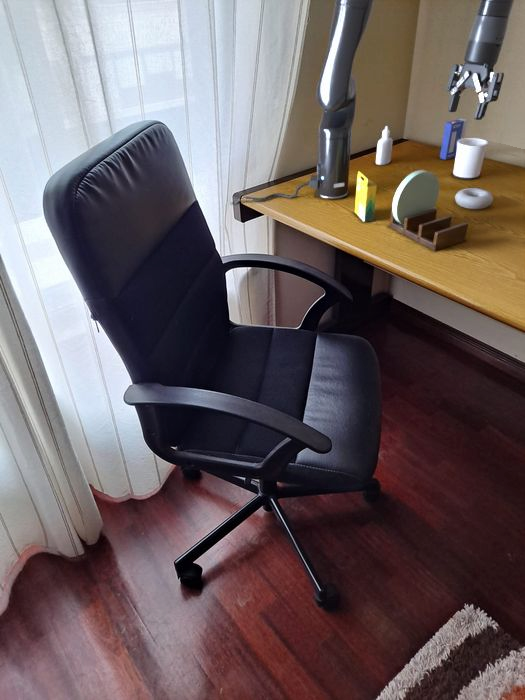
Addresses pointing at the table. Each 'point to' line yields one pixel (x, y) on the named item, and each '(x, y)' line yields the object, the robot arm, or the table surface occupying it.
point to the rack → (431, 229)
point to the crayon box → (365, 198)
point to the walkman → (452, 137)
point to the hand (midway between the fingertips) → (464, 115)
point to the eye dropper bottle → (384, 148)
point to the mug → (469, 158)
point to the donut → (474, 198)
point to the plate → (415, 195)
